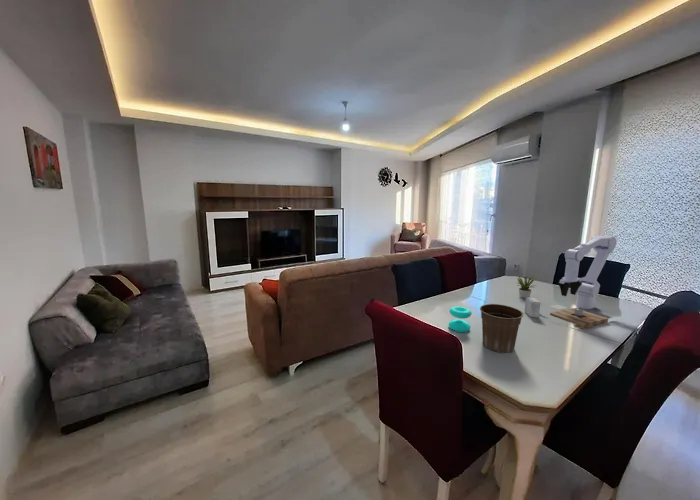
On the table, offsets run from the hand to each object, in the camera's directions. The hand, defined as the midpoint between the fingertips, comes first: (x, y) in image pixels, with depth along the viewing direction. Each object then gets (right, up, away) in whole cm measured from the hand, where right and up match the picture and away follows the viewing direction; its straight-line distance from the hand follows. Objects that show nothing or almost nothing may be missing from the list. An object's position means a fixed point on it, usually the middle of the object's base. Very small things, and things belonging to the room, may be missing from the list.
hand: (568, 295), depth 160 cm
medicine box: (-21, -11, -1) cm, 24 cm away
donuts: (-68, -14, -19) cm, 72 cm away
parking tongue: (-1, -9, +7) cm, 12 cm away
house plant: (-8, -7, +25) cm, 27 cm away
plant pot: (-58, -17, -36) cm, 70 cm away
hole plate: (-1, -12, -8) cm, 15 cm away
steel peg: (-1, -12, -8) cm, 14 cm away
